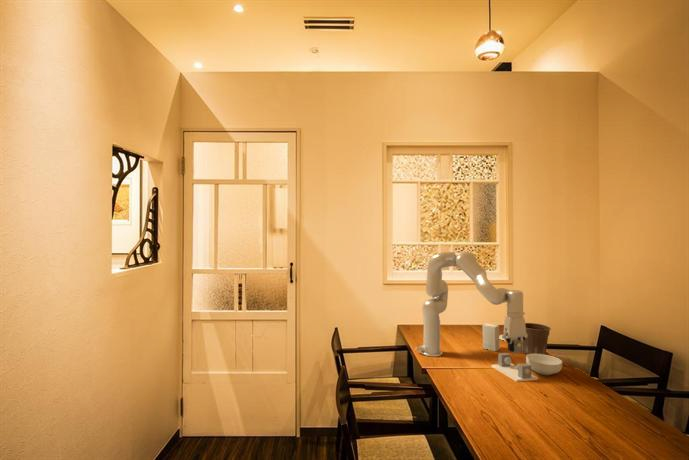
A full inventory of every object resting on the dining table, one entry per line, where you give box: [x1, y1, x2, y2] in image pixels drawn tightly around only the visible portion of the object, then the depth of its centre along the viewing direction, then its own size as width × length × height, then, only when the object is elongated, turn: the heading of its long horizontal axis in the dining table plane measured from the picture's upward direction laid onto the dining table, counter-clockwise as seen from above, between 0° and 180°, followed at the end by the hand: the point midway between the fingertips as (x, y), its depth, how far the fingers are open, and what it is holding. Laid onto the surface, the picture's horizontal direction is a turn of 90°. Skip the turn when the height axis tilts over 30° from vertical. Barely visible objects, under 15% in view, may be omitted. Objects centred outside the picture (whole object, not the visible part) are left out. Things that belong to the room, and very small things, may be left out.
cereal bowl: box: [525, 354, 563, 376], centre depth 198 cm, size 17×17×7 cm
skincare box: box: [482, 322, 501, 352], centre depth 234 cm, size 8×6×15 cm
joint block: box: [512, 338, 523, 354], centre depth 196 cm, size 7×4×6 cm
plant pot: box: [522, 322, 552, 355], centre depth 227 cm, size 16×16×16 cm
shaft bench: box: [491, 352, 539, 383], centre depth 196 cm, size 12×20×7 cm, turn 13°
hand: (515, 350), depth 196 cm, fingers closed on joint block, 4 cm apart
